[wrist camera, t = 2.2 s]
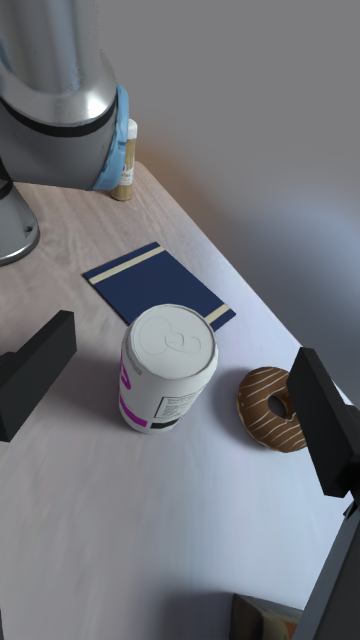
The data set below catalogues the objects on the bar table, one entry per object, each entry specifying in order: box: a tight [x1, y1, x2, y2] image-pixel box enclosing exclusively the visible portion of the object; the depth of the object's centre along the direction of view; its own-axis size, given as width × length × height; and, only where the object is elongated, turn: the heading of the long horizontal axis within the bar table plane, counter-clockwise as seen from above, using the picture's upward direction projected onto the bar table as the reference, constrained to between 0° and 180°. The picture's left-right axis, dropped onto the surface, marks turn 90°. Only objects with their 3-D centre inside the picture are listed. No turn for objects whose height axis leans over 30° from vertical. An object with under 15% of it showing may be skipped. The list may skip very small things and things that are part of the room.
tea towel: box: [83, 242, 236, 332], centre depth 44 cm, size 20×15×1 cm
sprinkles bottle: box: [110, 119, 137, 201], centre depth 52 cm, size 5×5×14 cm
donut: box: [237, 367, 307, 453], centre depth 35 cm, size 11×11×4 cm
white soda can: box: [119, 304, 218, 434], centre depth 28 cm, size 8×8×15 cm
